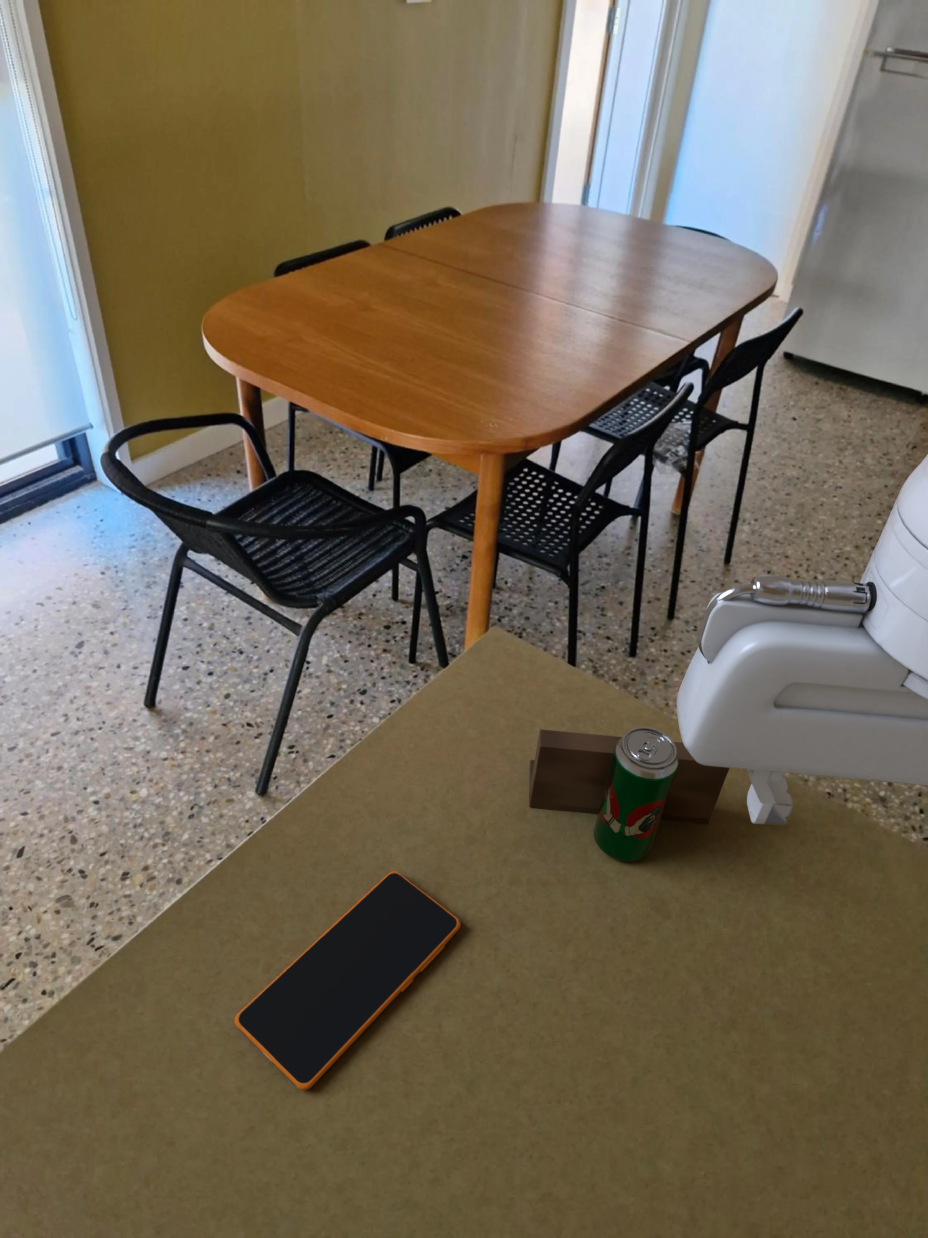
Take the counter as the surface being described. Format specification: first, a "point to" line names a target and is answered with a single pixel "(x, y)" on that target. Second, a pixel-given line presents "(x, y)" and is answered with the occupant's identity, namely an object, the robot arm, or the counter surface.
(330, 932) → the smartphone
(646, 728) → the soda can
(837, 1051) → the counter surface
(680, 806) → the brown rectangular block
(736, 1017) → the counter surface
